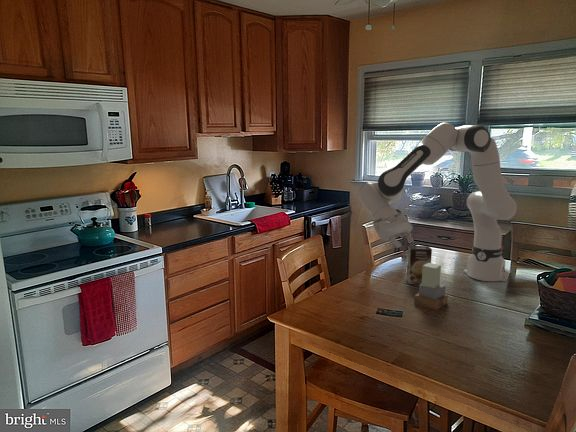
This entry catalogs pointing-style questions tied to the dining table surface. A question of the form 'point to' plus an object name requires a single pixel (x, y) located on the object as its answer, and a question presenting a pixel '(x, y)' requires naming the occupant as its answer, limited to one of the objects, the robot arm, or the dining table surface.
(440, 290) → the tower top
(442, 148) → the robot arm
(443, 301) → the tower base
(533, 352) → the dining table surface
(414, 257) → the coffee box
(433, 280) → the sage block
